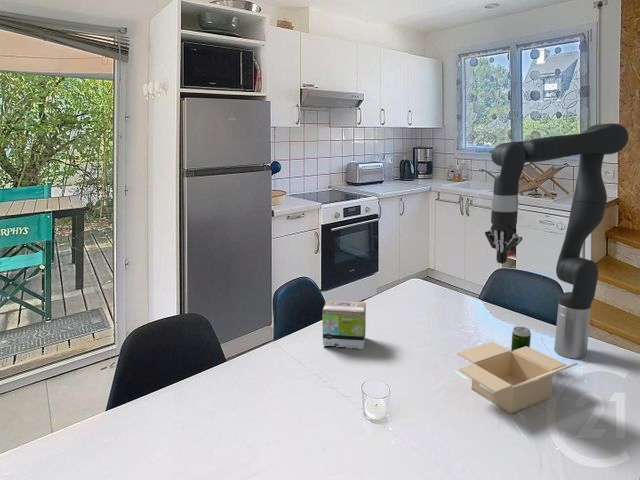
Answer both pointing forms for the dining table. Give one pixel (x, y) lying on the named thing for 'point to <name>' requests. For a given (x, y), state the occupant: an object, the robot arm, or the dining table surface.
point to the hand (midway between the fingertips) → (501, 262)
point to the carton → (509, 375)
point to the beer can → (520, 338)
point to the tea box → (344, 324)
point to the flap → (546, 374)
